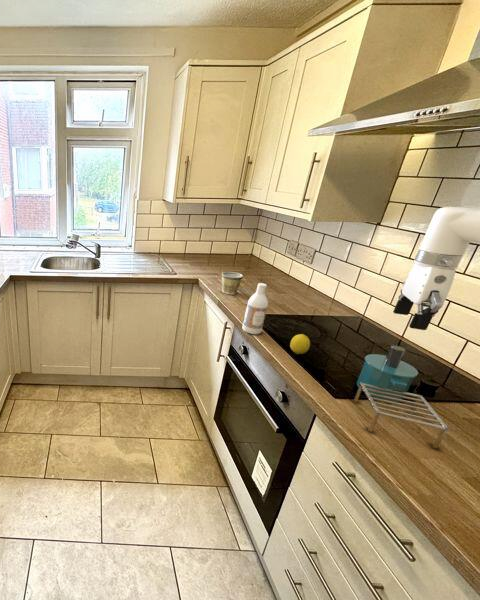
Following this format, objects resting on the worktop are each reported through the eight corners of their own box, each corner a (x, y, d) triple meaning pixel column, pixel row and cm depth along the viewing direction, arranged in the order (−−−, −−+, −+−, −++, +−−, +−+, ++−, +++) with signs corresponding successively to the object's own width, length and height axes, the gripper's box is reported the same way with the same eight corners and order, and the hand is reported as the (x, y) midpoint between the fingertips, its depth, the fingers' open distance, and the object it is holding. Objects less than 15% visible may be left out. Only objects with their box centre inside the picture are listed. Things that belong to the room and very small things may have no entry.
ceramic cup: (215, 292, 168) (218, 274, 165) (223, 287, 175) (227, 270, 171) (239, 299, 159) (243, 280, 156) (248, 294, 166) (252, 276, 162)
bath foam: (245, 334, 125) (256, 287, 117) (239, 326, 131) (249, 281, 124) (263, 335, 124) (276, 287, 117) (256, 327, 131) (267, 281, 123)
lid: (405, 362, 93) (414, 343, 90) (424, 384, 83) (435, 363, 81) (358, 353, 97) (365, 335, 94) (371, 373, 88) (380, 353, 85)
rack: (412, 413, 84) (421, 395, 82) (438, 449, 73) (450, 429, 71) (352, 399, 89) (359, 382, 87) (368, 431, 78) (377, 412, 76)
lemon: (305, 352, 112) (312, 333, 109) (306, 360, 108) (313, 339, 105) (287, 348, 115) (293, 329, 112) (287, 355, 111) (293, 335, 107)
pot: (390, 380, 98) (401, 356, 95) (414, 412, 85) (428, 387, 81) (349, 371, 102) (358, 349, 99) (366, 401, 89) (377, 376, 85)
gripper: (481, 270, 69) (445, 338, 76) (438, 253, 84) (411, 311, 90) (435, 266, 72) (404, 332, 79) (401, 250, 86) (378, 306, 93)
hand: (408, 320), depth 84 cm, fingers open, 9 cm apart
